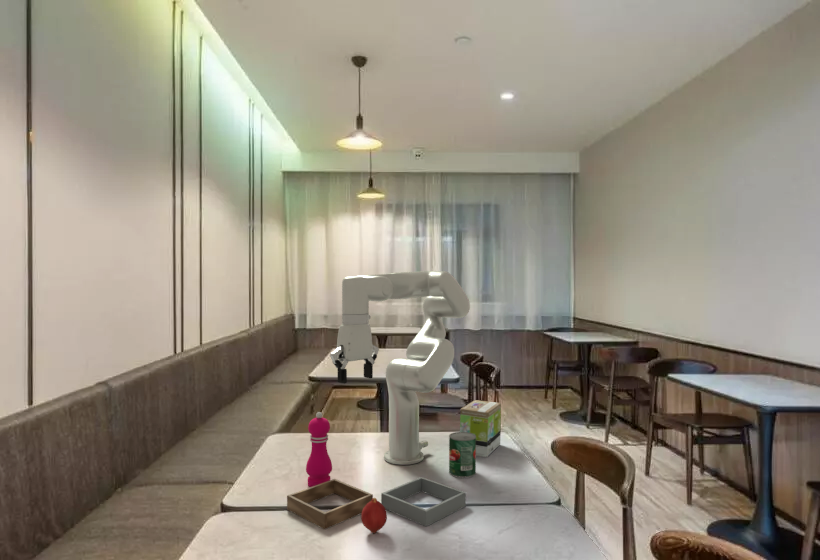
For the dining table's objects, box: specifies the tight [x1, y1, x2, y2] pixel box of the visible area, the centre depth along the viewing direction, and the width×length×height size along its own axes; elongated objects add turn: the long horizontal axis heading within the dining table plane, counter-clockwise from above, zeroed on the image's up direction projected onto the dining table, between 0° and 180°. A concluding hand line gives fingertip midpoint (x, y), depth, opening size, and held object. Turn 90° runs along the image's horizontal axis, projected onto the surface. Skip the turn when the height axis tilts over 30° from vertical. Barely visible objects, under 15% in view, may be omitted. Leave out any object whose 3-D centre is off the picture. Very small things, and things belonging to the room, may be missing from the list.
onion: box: [360, 497, 388, 534], centre depth 121 cm, size 6×6×8 cm
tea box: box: [459, 399, 502, 458], centre depth 179 cm, size 15×10×15 cm, turn 155°
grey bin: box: [380, 476, 467, 527], centre depth 135 cm, size 15×15×4 cm
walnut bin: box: [286, 478, 374, 530], centre depth 133 cm, size 15×15×4 cm
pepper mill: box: [305, 411, 333, 488], centre depth 149 cm, size 7×7×20 cm
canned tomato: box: [448, 431, 477, 479], centre depth 158 cm, size 8×8×11 cm
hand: (355, 380), depth 152 cm, fingers open, 9 cm apart
